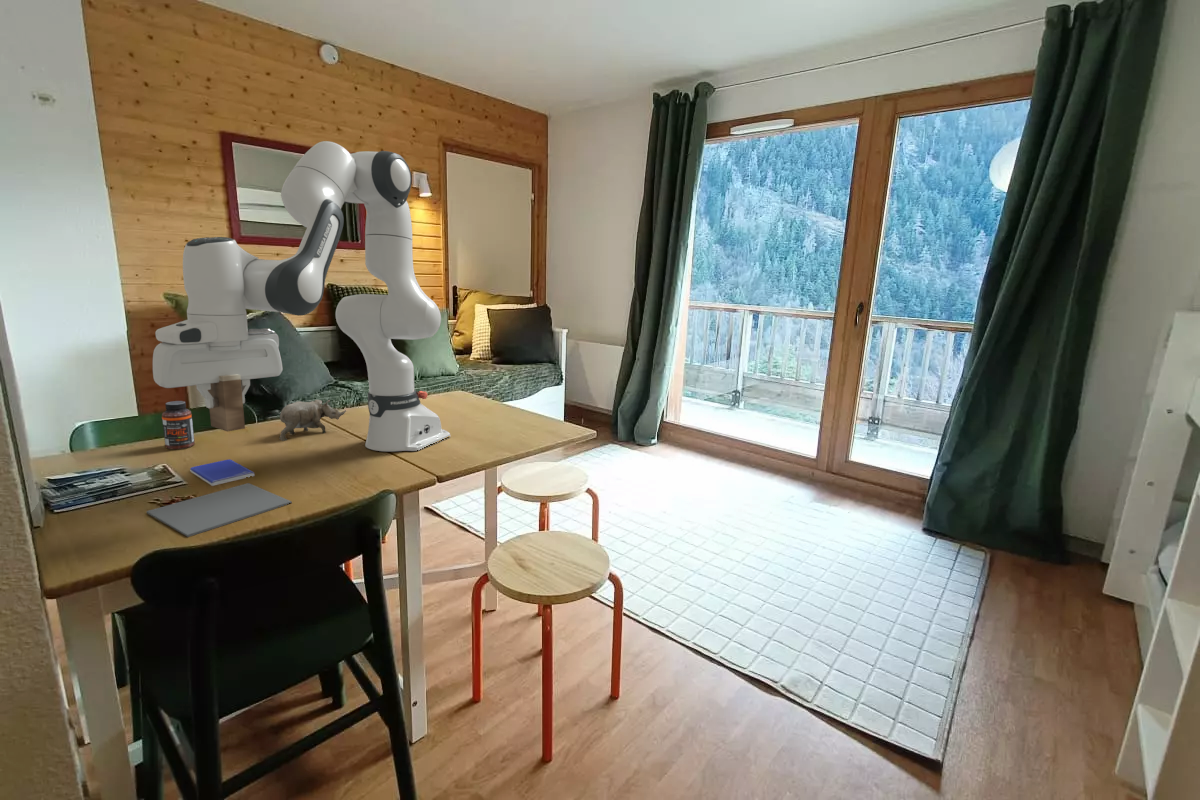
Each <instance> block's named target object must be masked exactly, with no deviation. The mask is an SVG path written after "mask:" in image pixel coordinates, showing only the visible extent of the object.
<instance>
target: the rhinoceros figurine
mask: <svg viewBox="0 0 1200 800" xmlns="http://www.w3.org/2000/svg"><path fill="white" fill-rule="evenodd" d="M330 402H331V401H330V399H328V400H327V401H326V402H324V403H323V400H321V399H315V400H314V401H313V400H312V401H308V402H307V401H300V400H299V401H295V402H293V403H289V404H286V405H285V406H284V407H283V408H282V409H281V411H280V414H279V419H280V422H282V423H284V425H285V427H284V428H283V429H281V432H280V436H279V440H280V441H282V442H283V441H287V440H288V438H287V436H286V435H287V434H288V433H289V434H290V435H289V436H295V435H296V432H295V429H303V432H308V430H309V428H310V429H319V428H320V429H321V433H322V434H325V432H326V425H324V424H323V423H322V422H321V419H322V418H324V417H326V418H329V419H332V420H339V419H340V417H342V416H344V415H345V413H346V412H347V410H346V409H344V411H339V409H337V408H333V407H331V405H329V403H330Z"/></svg>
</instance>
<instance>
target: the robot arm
mask: <svg viewBox="0 0 1200 800" xmlns="http://www.w3.org/2000/svg"><path fill="white" fill-rule="evenodd" d="M412 181H413V180H412V172H411V169H410V167H409V164H408V163H407V161H406V160H405V158H404V157H403V156H402V155H400V154H398V153H396V152H393V151H388V150H380V151H368V150H367V151H357V152H353V153H350V152H349V151H348V149H346V148H345V147H343V146H342V145H340V144H338V143H336V142H334V141H329V140H328V141H327V140H325V141H324V140H323V141H320V142H317V143H315V144H314V145H312V147H310V149H308V150H307V151H306V152H305V153H304V154H303V155H302V157H301V158H300V159H299V160H298V161H297V162H296V164H295V165H294V167H293V168H292V169H291V171H290V172H289V174H288V176H287V177H286V178H285V181H284V182H283V185H282V187H281V190H280V198H281V201H282V204H283V206H284V208H285V210H286V211H287V213H288V214H289V215H290V216H291V217H292V218H293V219H294V220H295V221H296V222H297V223H299V224H300V225H302V226H303V227H304V228H306V229H305V232H304V234H303V236H302V239H301V242H300V244H299V246H298V248H297V251H296V253H295V254H294V255H291V256H290V257H287V258H285V259H280V260H279V259H263V258H259V257H258V256H255V255H254V254H251V253H249V252H248V251H246V250H244V249H243V248H242V247H241V246H240V245H238V243H237V241H236V239H234V238H231V237H225V236H217V237H216V236H215V237H214V236H211V237H209V236H208V237H199V238H193V239H191V240H189V241H188V242H186V243H185V245H184V249H183V254H182V275H183V278H182V279H183V285H184V291H185V293H186V295H187V300H188V304H187V308H186V317H187V319H185V320H183V321H182V320H181V321H179V322H176V323H172V324H170V325H167V326H163V327H161V328H158V329H156V331H155V338H156V340H157V341H158V342H160V343H158V344H156V346H155V347H154V349H153V354H152V376H153V377H152V378H153V381H154V382H155V384H157V385H158V386H159V387H162V388H165V389H174V388H182V387H188V386H189V387H192V386H195V387H196V390H197V391H198V392H199V394H200V395H201V396H202V397H203V398H204V403H205V407H206V408H208V409H209V408H216V407H219V403H218V402H219V398H216V397H212V396H211V394H210V393H209V392H208V390H210V389H211V384H210V383H219V376H224V375H234V374H238V375H240V376H241V388H242V400H243V405H244V404H245V403H246V398H245V397H246V396H245V395H246V394H247V392H248V390H249V388H250V386H251V380H254V379H255V380H256V379H263V378H272V377H273V378H274V377H279V376H280V375H281V374H282V372H283V370H284V369H283V362H282V358H281V353H280V350H279V347H280V338H279V335H278V334H277V333H276V332H275V331H274V330H271V329H270V328H266V327H265V328H248V326H249V325H248V317H247V310H252V311H253V310H255V311H263V312H275V313H282V314H287V315H293V316H300V317H301V316H305V315H309V314H311V313H312V312H313V311H315V309H316V308H317V307H318V306H319V304H320V303H321V302H322V299H323V296H324V293H325V292H324V290H325V285H326V278H327V274H328V271H329V268H330V265H331V263H332V260H333V257H334V255H335V252H336V250H337V246H338V244H339V241H340V238H341V235H342V232H343V227H344V221H345V220H344V213H343V210H342V208H343V205H344V204H363V205H364V208H365V211H366V217H365V229H364V230H365V232H364V234H365V235H364V236H365V237H364V239H365V241H364V248H365V249H364V253H365V255H364V256H365V257H364V259H365V267H366V269H367V271H368V272H369V274H371V275H372V276H373V277H375V278H376V279H378V280H380V281H382V282H384V283H385V285H386V287H387V291H388V294H374V293H361V294H359V293H358V294H352V295H348V296H344V297H343V298H341V300H339V302H338V303H337V306H336V309H335V319H336V320H335V321H336V323H337V325H338V327H339V329H340V330H341V331H342V332H343V333H344V334H345V335H347V336H348V337H349V338H350V339H351V340H353V342H354V343H355V344H356V346H357V347H358V348H359V349H360V352H361V353H362V355H363V358H364V360H365V363H366V370H367V377H368V380H367V381H368V392H367V407H368V412H369V419H368V420H369V422H368V431H367V436H366V441H365V444H364V446H365V448H367V449H369V450H372V451H377V452H378V451H379V452H402V451H407V452H417V450H418V451H420V449H421V450H423V449H425V448H424V447H426V446H428V445H430V444H433V443H435V442H437V441H439V440H442V439H444V438H446V437H448V436H450V437H451V433H450V432H449V431H448V430H446V429H443V428H442V422H441V418H440V416H438V413H435V412H434V411H432V410H431V409H430V408H428V407H426V406H425V405H424V404H423V403H421V401H420V399H422V400H426V399H427V398H428V396H429V395H428V393H427V391H422V390H420V391H417V390H415V373H414V372H415V368H414V363H413V361H412V360H411V359H410V358H409V357H408V355H406V354H404V353H402V352H400V351H398V350H397V349H396V348H395V347H394V345H393V343H392V339H393V340H408V341H409V340H413V341H415V340H422V339H428V338H433V337H434V335H436V334H437V333H438V331H439V329H440V326H441V323H442V315H441V311H440V309H439V306H438V305H437V304H436V303H435V301H434V300H433V299H431V298H430V297H429V296H428V295H427V294H426V293H425V292H424V291H423V289H422V288H421V286H420V284H419V283H418V281H417V280H418V279H417V278H416V275H415V269H414V259H413V258H414V257H413V223H412V217H411V216H412V215H411V210H410V206H409V203H408V198H409V197H408V196H409V194H410V192H411V189H412V188H411V187H412ZM444 440H445V439H444ZM442 441H443V440H442ZM437 443H438V442H437ZM435 444H436V443H435ZM433 445H434V444H433ZM430 446H431V445H430ZM428 447H429V446H428ZM422 448H423V449H422ZM426 448H427V447H426Z"/></svg>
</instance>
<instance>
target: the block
mask: <svg viewBox="0 0 1200 800" xmlns="http://www.w3.org/2000/svg"><path fill="white" fill-rule="evenodd" d="M210 384H211V389H210V390H208V392H209V393H210V394H211V396H212V397H216V398H219V402H218V403H219V407H216V408H208V409H209V418H210V419H209V420H210V427H213V428H214V429H215V428H216V429H218V430H222V431H225V432H233V431H238V430H243V429H246V424H245V414H244V404H243V400H242V388H241V376H240V375H238V374H234V375H224V376H219V383H210Z"/></svg>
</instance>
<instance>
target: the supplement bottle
mask: <svg viewBox="0 0 1200 800" xmlns="http://www.w3.org/2000/svg"><path fill="white" fill-rule="evenodd" d="M186 407H187V405H186V401H183V400H175V401H174V400H173V401H168V402H165V411H163V412H162V414H161V420H162V421H161V422H162V429H163V435H164V436H163V437H164V445H165V448H166V449H169V450H184V449H188V448H191V447H192V446H193V447H194V446H195V442H196V441H195V434H194V433H195V432H194V426H193V425H194V424H193V417H192V415H193V414H192V411H191V410H190V409H188V408H186Z"/></svg>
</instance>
